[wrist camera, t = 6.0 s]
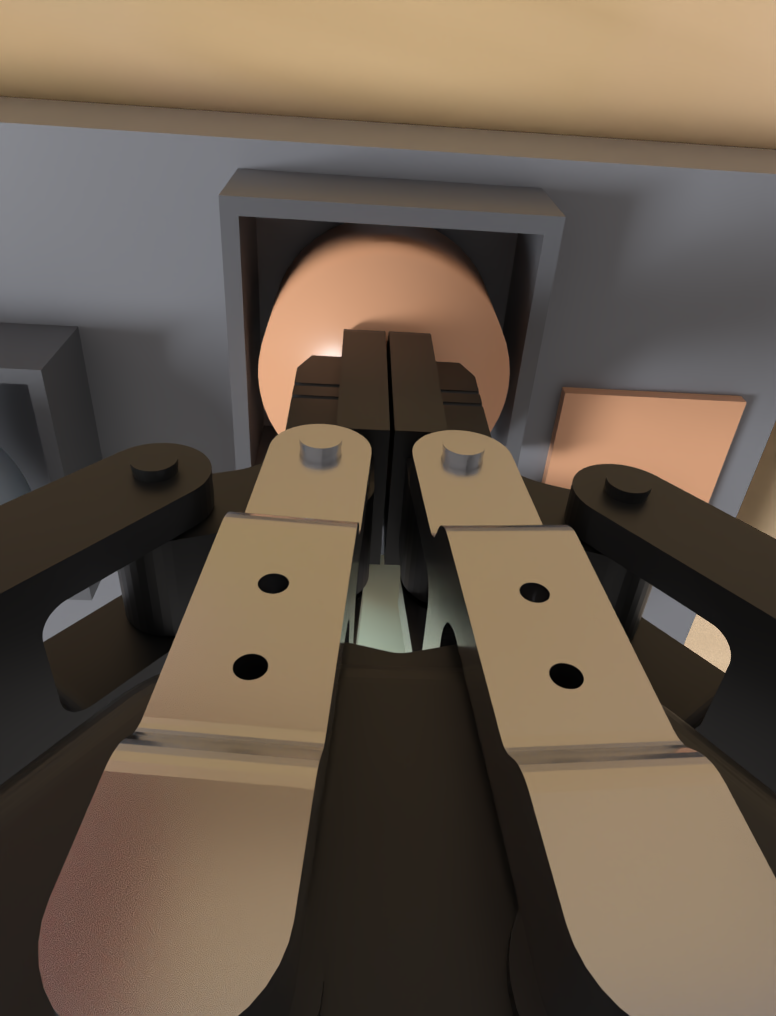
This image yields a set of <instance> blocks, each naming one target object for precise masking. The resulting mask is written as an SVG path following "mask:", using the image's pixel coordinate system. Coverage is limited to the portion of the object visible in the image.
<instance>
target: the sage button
mask: <svg viewBox="0 0 776 1016" xmlns="http://www.w3.org/2000/svg"><path fill="white" fill-rule="evenodd" d="M400 575H401V574H400V565H384V555H381V558H380V565H377V564H369V577H368V581H367V584H366V585H365V587H364V588H363V605H362V613H361V621H360V629H359V637H358V645H362V646H366V647H371V648H375V649H379V650H384V651H388V652H394V653H405V647H404V640H403V634H402V627H401V621H400V615H399V608H398V595H399V584H400Z"/></svg>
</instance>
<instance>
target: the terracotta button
mask: <svg viewBox="0 0 776 1016" xmlns="http://www.w3.org/2000/svg"><path fill="white" fill-rule="evenodd" d="M344 329H355V330H374V331H385V333H386V354H387V341H388V333H389V331H395V332H414V333H430V334H431V338H432V343H433V349H434V355H435V360H436V361H437V362H456V363H460V364H461V365H463V366H464V367H465V368H466V369H467V370H468V371H469V372H471V373H472V374H473V375H474V376H475V378H476V382H477V386H478V390H479V394H480V397H481V401H482V407H483V408H484V412H485V416H486V419H487V423H488V427H489V430H490V432H491V430H492V429H493V427H494V425H495V423H496V422H497V420H498V418H499V416H500V414H501V411H502V408H503V406H504V403H505V400H506V396H507V391H508V386H509V376H510V367H509V355H508V350H507V344H506V341H505V338H504V335H503V332H502V329H501V326H500V324H499V321H498V319H497V316H496V313H495V311H494V308H493V305H492V303H491V300H490V298H489V295H488V292H487V290H486V287H485V284H484V282H483V280H482V278H481V276H480V274H479V272H478V270H477V268H476V267H475V265H474V264H473V263H472V261H471V260H470V258H469V257H468V256H467V255H466V254H465V253H464V251H463V250H462V249H461V248H460V247H459V246H458V245H457V244H455V243H454V242H453V241H452V240H450V239H449V238H448V237H447V236H445V235H443V234H442V233H440V232H438V231H437V230H435V229H433V228H426V227H410V226H393V225H377V224H361V223H343V224H341V225H339V226H337V227H334V228H332V229H330V230H328V231H327V232H325V233H323V234H322V235H320V236H319V237H317V238H316V239H314V240H313V241H312V242H311V243H310V244H308V245H307V246H306V247H305V248H304V249H303V250H302V251H301V252H300V253H299V255H298V256H297V257H296V258H295V259H294V261H293V262H292V264H291V265H290V267H289V268H288V269H287V271H286V273H285V275H284V277H283V279H282V281H281V283H280V286H279V289H278V292H277V295H276V298H275V302H274V305H273V308H272V312H271V315H270V318H269V322H268V325H267V328H266V332H265V335H264V338H263V342H262V345H261V350H260V356H259V364H258V379H259V388H260V394H261V398H262V401H263V405H264V408H265V410H266V413H267V415H268V418H269V420H270V422H271V423H272V425H273V427H274V428H275V430H276V432H277V433H278V434H280V433H281V432H283V431H285V429H286V424H287V419H288V413H289V408H290V403H291V398H292V392H293V387H294V382H295V376H296V371H297V367H298V366H300V365H301V364H302V363H303V362H304V361H306V360H307V359H308V358H309V357H310V356H312V355H317V356H337V357H342V345H343V331H344Z"/></svg>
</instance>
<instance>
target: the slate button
mask: <svg viewBox="0 0 776 1016" xmlns="http://www.w3.org/2000/svg"><path fill="white" fill-rule="evenodd" d="M29 492H31V489H30V487H29V485H28V483H27V481H26V478H25V477H24V475H23V474H22V472H21V471H20V469H19V468H18V466H17V465H16V464H15V463H14V461H13V460H12V459H11V458H10V457H9V455H8V454H7V453H6V452H5V451H4V450H3V449H2V448H1V447H0V505H2V504H4V503H7V502H9V501H11V500H13V499H15V498H18V497H20V496H22V495H24V494H27V493H29Z"/></svg>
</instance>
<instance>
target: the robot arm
mask: <svg viewBox="0 0 776 1016" xmlns="http://www.w3.org/2000/svg"><path fill="white" fill-rule="evenodd" d="M382 531H384V565H400V574H401V575H400V584H399V595H398V608H399V615H400V621H401V627H402V634H403V640H404V647H405V653H394V652H388V651H384V650H379V649H375V648H371V647H366V646H362V645H358V637H359V629H360V621H361V613H362V605H363V588H364V587H365V585H366V584H367V581H368V577H369V564H377V565H380V558H381V545H382ZM116 571H118V577H119V582H120V587H121V592H122V595H120V596H119V597H117V598H115V599H114V600H112V601H110V602H109V603H107V604H105V605H104V606H102V607H100V608H99V609H97V610H96V611H94V612H92V613H91V614H89V615H87V616H86V617H84V618H82V619H81V620H79V621H77V622H76V623H74V624H72V625H71V626H69V627H67V628H66V629H64V630H62V631H61V632H59V633H57V634H56V635H54V636H52V637H51V638H49V639H47V640H46V641H44V642H43V629H44V626H45V623H46V621H47V619H48V618H49V616H50V615H51V613H52V612H53V611H54V610H55V609H56V608H57V607H58V606H59V605H60V604H61V603H63V602H64V601H66V600H67V599H69V598H71V597H73V596H74V595H76V594H78V593H79V592H81V591H83V590H85V589H86V588H88V587H90V586H92V585H93V584H95V583H97V582H99V581H100V580H102V579H104V578H106V577H107V576H109V575H111V574H113V573H114V572H116ZM652 586H654V587H655V588H657V589H659V590H660V591H662V592H663V593H665V594H666V595H668V596H669V597H671V598H673V599H674V600H676V601H677V602H679V603H680V604H682V605H684V606H685V607H687V608H688V609H690V610H691V611H693V612H694V613H696V614H698V615H699V616H701V617H702V618H704V619H705V620H707V621H709V622H710V623H712V624H713V625H714V626H716V627H717V628H718V629H719V630H720V631H721V632H722V634H723V635H724V636H725V638H726V640H727V642H728V644H729V646H730V650H731V661H730V664H729V666H728V668H727V671H726V673H724V672H723V671H721V670H720V669H718V668H717V667H715V666H714V665H712V664H711V663H709V662H708V661H706V660H705V659H703V658H702V657H700V656H699V655H697V654H696V653H694V652H693V651H691V650H690V649H689V648H687V647H686V646H684V645H683V644H681V643H680V642H678V641H677V640H675V639H674V638H672V637H671V636H669V635H668V634H666V633H665V632H663V631H662V630H660V629H659V628H657V627H656V626H655V625H653V624H652V623H650V622H649V621H647V620H646V619H644V618H643V617H642V614H643V612H644V609H645V606H646V603H647V600H648V598H649V595H650V592H651V589H652ZM0 1016H776V539H774V538H773V537H771V536H769V535H767V534H765V533H763V532H761V531H759V530H757V529H756V528H754V527H752V526H750V525H748V524H746V523H744V522H742V521H741V520H739V519H737V518H735V517H733V516H731V515H729V514H727V513H725V512H724V511H722V510H720V509H718V508H716V507H714V506H712V505H710V504H708V503H707V502H705V501H703V500H701V499H699V498H697V497H695V496H693V495H692V494H690V493H688V492H686V491H684V490H682V489H680V488H678V487H676V486H675V485H673V484H671V483H669V482H667V481H665V480H663V479H661V478H660V477H658V476H656V475H654V474H651V473H649V472H647V471H644V470H641V469H638V468H635V467H631V466H626V465H619V464H597V465H592V466H588V467H586V468H583V469H582V470H580V471H578V472H577V473H576V474H575V476H574V478H573V481H572V485H571V489H566V488H562V487H558V486H553V485H549V484H545V483H541V482H537V481H534V480H531V479H528V478H526V477H524V476H521V475H520V472H519V470H518V468H517V466H516V463H515V461H514V459H513V457H512V455H511V453H510V451H509V450H508V449H507V448H506V447H505V446H504V445H503V444H501V443H500V442H498V441H496V440H495V439H493V438H491V434H490V430H489V427H488V423H487V419H486V416H485V412H484V408H483V407H482V401H481V397H480V394H479V390H478V386H477V382H476V378H475V376H474V375H473V374H472V373H471V372H469V371H468V370H467V369H466V368H465V367H464V366H463V365H461V364H460V363H456V362H437V361H436V360H435V355H434V349H433V343H432V338H431V334H430V333H414V332H395V331H389V333H388V341H387V354H386V333H385V331H374V330H355V329H344V331H343V345H342V357H337V356H317V355H312V356H310V357H309V358H308V359H307V360H306V361H304V362H303V363H302V364H301V365H300V366H298V367H297V371H296V376H295V382H294V387H293V392H292V398H291V403H290V408H289V413H288V419H287V424H286V429H285V431H283V432H281V433H280V434H278V435H277V436H276V437H275V438H274V439H273V440H272V442H271V443H270V446H269V448H268V451H267V454H266V456H265V459H264V462H262V463H260V464H257V465H255V466H252V467H248V468H245V469H240V470H234V471H227V472H220V473H213V474H212V466H211V462H210V460H209V459H208V457H207V456H206V455H205V454H203V453H202V452H200V451H199V450H197V449H194V448H192V447H189V446H185V445H181V444H175V443H152V444H144V445H139V446H135V447H131V448H128V449H126V450H123V451H120V452H118V453H116V454H114V455H111V456H109V457H107V458H105V459H103V460H100V461H98V462H96V463H94V464H91V465H89V466H87V467H85V468H82V469H80V470H78V471H76V472H74V473H71V474H69V475H67V476H65V477H62V478H60V479H58V480H56V481H53V482H51V483H49V484H47V485H44V486H42V487H40V488H38V489H36V490H33V491H31V492H29V493H27V494H24V495H22V496H20V497H18V498H15V499H13V500H11V501H9V502H7V503H4V504H2V505H0Z"/></svg>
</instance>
